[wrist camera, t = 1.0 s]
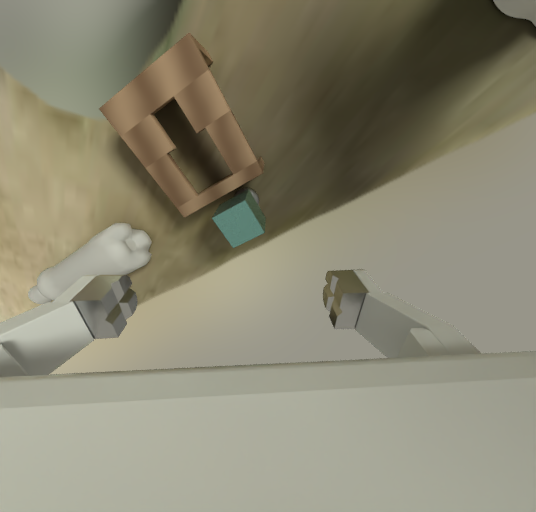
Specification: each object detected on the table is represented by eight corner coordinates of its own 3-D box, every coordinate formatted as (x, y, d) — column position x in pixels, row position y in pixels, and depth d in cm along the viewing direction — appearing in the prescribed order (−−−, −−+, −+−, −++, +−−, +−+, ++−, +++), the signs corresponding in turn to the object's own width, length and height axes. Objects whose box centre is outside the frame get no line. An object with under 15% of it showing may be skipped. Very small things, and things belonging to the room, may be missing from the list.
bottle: (113, 210, 39) (19, 270, 47) (108, 255, 35) (7, 312, 43) (157, 231, 47) (69, 280, 55) (157, 270, 43) (62, 315, 51)
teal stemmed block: (251, 179, 39) (245, 200, 29) (266, 205, 41) (264, 232, 32) (226, 193, 40) (211, 218, 30) (241, 218, 43) (233, 248, 33)
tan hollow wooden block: (207, 51, 30) (189, 32, 23) (264, 163, 37) (262, 173, 30) (133, 110, 34) (98, 108, 27) (198, 201, 41) (184, 217, 34)
